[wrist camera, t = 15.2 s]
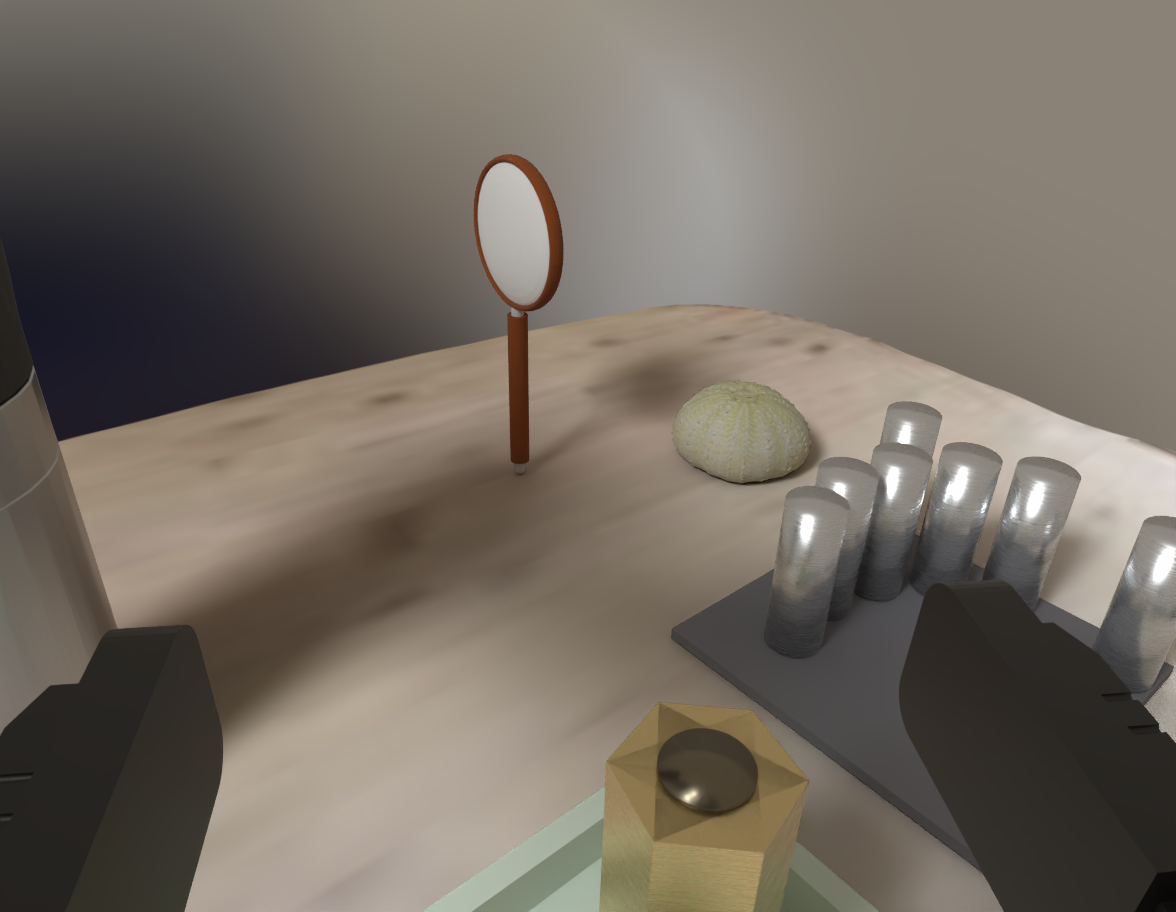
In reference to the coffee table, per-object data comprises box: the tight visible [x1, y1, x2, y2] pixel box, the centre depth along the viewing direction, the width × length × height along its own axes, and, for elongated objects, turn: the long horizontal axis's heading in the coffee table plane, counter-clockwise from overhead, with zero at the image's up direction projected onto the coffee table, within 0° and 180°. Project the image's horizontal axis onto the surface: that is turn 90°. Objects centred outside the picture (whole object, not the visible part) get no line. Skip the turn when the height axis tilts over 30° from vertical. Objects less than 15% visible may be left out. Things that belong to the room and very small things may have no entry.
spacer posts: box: [764, 401, 1176, 694], centre depth 42 cm, size 16×14×8 cm
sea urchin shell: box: [672, 380, 811, 484], centre depth 59 cm, size 9×8×8 cm
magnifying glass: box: [474, 154, 563, 474], centre depth 53 cm, size 9×2×20 cm, turn 35°
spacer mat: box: [671, 534, 1174, 872], centre depth 43 cm, size 17×17×1 cm
